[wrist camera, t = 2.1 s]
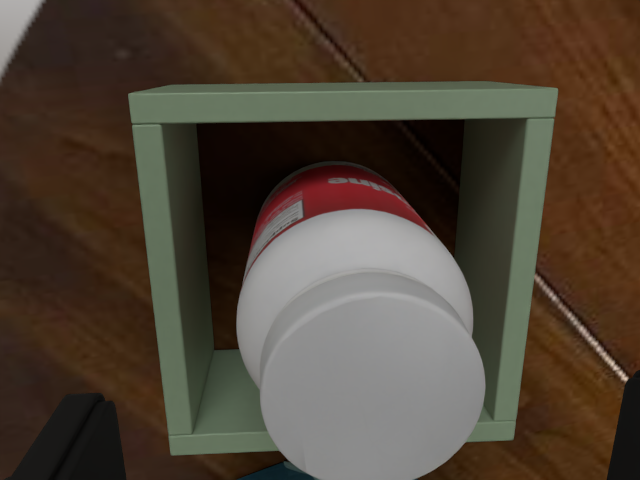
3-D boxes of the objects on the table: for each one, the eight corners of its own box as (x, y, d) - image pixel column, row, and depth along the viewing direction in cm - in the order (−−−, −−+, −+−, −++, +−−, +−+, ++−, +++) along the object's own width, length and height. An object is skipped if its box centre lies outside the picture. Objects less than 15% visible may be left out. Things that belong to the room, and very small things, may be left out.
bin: (171, 84, 19) (127, 93, 14) (488, 81, 20) (559, 88, 15) (197, 366, 23) (170, 456, 18) (464, 356, 23) (514, 440, 18)
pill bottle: (440, 228, 22) (584, 386, 11) (336, 331, 23) (377, 562, 12) (327, 123, 20) (370, 190, 9) (222, 239, 21) (157, 414, 11)
